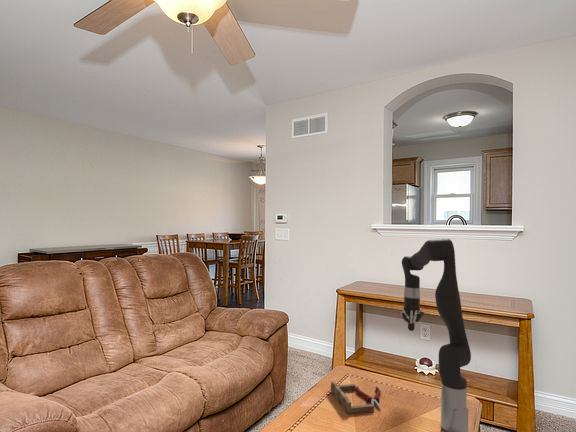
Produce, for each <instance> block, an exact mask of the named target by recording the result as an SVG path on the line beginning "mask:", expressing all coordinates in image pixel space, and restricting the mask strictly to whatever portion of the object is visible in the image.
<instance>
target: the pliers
mask: <svg viewBox="0 0 576 432" xmlns="http://www.w3.org/2000/svg"><path fill="white" fill-rule="evenodd" d="M375 391H376V393H375V394H374V396H373V397H372V396H370V395H369V394H367V393H366V392H364V391H363V390H361V389H360V388H359V386H356V391H355V392H356V394H357V395H358V396H360V398H362V399H363V400H366V404H368V403H369V404H373V405H374V406H375V407H376V408H377V410H378V409H379V411H381V410H382V409H381V406H380V404H379V403H380V396H381V393H382V392H381V390H380V388H379V387H378V386H375Z"/></svg>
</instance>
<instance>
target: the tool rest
mask: <svg viewBox="0 0 576 432" xmlns="http://www.w3.org/2000/svg"><path fill="white" fill-rule="evenodd" d="M356 387H357V386H356V384H355V383H350V384H340V385H338V383H336V381H335V380H330V392H331V394H332V395H333V397H334V398H335V399H336V401H337V403H339V404H340V407H341V408H343V410H344V412H345V413H346V414H347V415H357V414H364V413H365V414H366V413H373V412H375V405H373V404H371V403H369V404H360V405H353V406H352V402H351V400H350V399H349V398H348V397H347V395H346V394H345V392H356Z"/></svg>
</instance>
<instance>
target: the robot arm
mask: <svg viewBox="0 0 576 432" xmlns="http://www.w3.org/2000/svg"><path fill="white" fill-rule="evenodd" d="M430 262H443V272H442V276H441V279H440V280H439V282H438V285H437V286H436V288H435V289H436V290H435V293H434V296H435V304H436V309H437V312H438V313H439V314H438V315H439V316H440V317H441V320H442V321H443V323H444V324H445V326H446V329H447V331H448V337H449V343H447V344H443V345H441V347H440V348H439V350H438V372H439V377H440V380H441V381H440V382H441V384H440V427H441V429H443V431H445V432H469V408H467V407H468V406H467V405H468V403H467V399H468V392H467V391H468V390H467V389H468V381H467V379H466V377H464V376H463V375H461V368H463V367H465V366H468V365H469V364H470V363H471V360H472V353H471V349H470V344H469V340H468V338H467V337H468V336H467V332H466V329H465V322H464V317H463V311H462V310H463V309H462V303H461V297H460V296H461V295H460V290H459V286H458V285H459V284H458V280H457V278H458V277H457V267H456V253H455V247H454V243H453V241H452V240H451V239H450V238H448V237H447V238H446V237H445V238H433V239H432V238H431V239H429V240H428V239H427V240H426V241H425V242H424V243H423V245H422V246H421V248H420V249H419V251H417V252H415V253H414V254H412V255H411V256H410V255H407V256H406V255H405V256H403V258H402V259H401V266H402V270H403V273H404V275H403V276H404V291H403V293H404V294H403V304H404V307H403V310H402V311H399V312H398V314H399V315H400V316H401V317H402V319H403V320H404V322H406V323H407V330H408V331H410V332H414V330H415V327H416V326H415V324H416V323H419V321H420V319H421V318H422V317H423V315H424V314H425V313H424V311H422V310H421V309H420V306H421V305H420V304H421V289H420V287H421V283H420V282H421V280H420V279H421V278H420V276H419V275H416V274H412V273H411V271H423V269H424V267H425V266H427V265H428V264H429V263H430Z"/></svg>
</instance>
